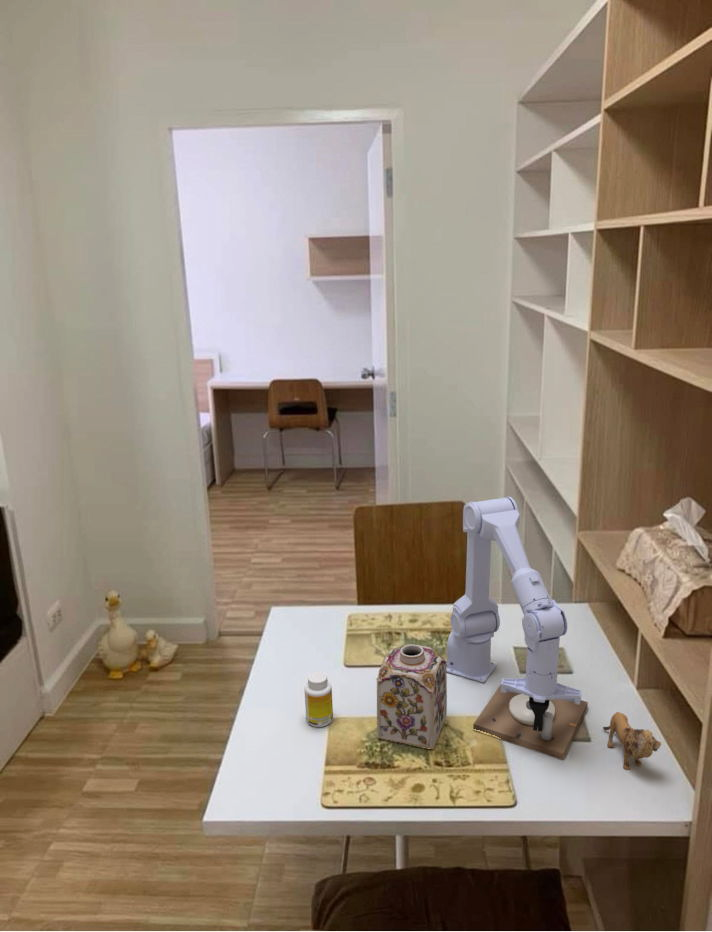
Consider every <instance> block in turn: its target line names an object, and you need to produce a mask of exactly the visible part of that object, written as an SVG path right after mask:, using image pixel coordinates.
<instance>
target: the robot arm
mask: <svg viewBox="0 0 712 932" xmlns="http://www.w3.org/2000/svg"><path fill="white" fill-rule="evenodd" d="M462 510H463V511H462V531H463V532H464V533H467V535H466V536H467V538H466V539H467V541H466V567H465V568H466V569H465V570H466V571H465V593H464V595H462V596H461V597H460V598H458V599H457V600H456V601H455V602H454V603H453V605H452V606H453V607H452V611H451V614H450V618H449V619H450V622H449V623H450V627H451V631H450V632H449V635H448V638H447V642H446V661H447V663H446V666H447V667H446V670H447V673H449V674H452V675H455V676H458V677H463V678H465V679H466V678H467V679H469V680H473V681H476V682H479V683H486V681H487V679H488V678H489V677H490V676H491V674H492V672H493V671H494V670H495V669H496V668H497V663H495V662H491V655H492V654H491V651H492V648H491V647H492V642H491V641H492V638H494V637H495V633H496V632H498V631H499V628H500V625H501V619H500V614H499V605H498V604H497V602H496V601H495V600H494V598H493V597H491V596H490V579H491V578H490V577H491V575H490V574H491V558H492V557H491V554H492V553H491V552H492V541H493V542H495V543H496V545H497V546H498V548H499V550H500V552H501V554H502V556H503V557H504V560H505V562H506V564H507V565H508V567H509V570H510V571H511V573H512V578H511V580H510V585H511V587H512V589H513V592H514V595H515V597H516V599H517V601H518V604H519V607H520V609H521V611H522V614H523V617H522V618H521V625H522V629H523V633H524V644H525V645H526V646H527V647H526V662H525V663H526V664H525V665H526V666H525V678H523V677H521V678H504V677H502V678H501V683H500V685H501V692H502V693H507V691H509V692H515V693H521V694H524V695H527V696H529V705H530V708H531V709H532V711H533V713H534V715H535V718H534V726H533V730H534V731H537V727H538V731H540V732H542V716H543V714H544V713H545V712H546V710H547V709H548V707H549V701H550V700H554V699H560V700H566V701H573V702H574V704H579V705H580V700H582V699H581V698H582V696H581V695H582V693H581V692H582V691H581V689H578V688H574V687H570V686H567V685H564V684H562V683H558V669H559V656H560V655H559V654H560V652H559V651H560V639H561V638H560V637H562V636H565V635H566V634H567V632H568V621H567V616H566V613H565V611H564V609H563V608H562V607H561V605H559V604H557V601H556V600H555V599H551V596H550V593H549V592H548V589H547V587H546V585H545V583H544V581H543V579H542V576H541V574H540V571H537V570H535V569H533V568H531V565H530V562H529V559H528V555H527V553H526V550H525V547H524V545H523V540H522V539H521V535H520V532H519V530H518V529H519V526H520V522H521V515H520V511H519V506H518V504H517V502H516V501H515V500H514V498H513V497H511V496H504V497H500V498H493V499H487V500H481V501H469V502H467V503H466V504H465V505H463V509H462Z"/></svg>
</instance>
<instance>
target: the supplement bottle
mask: <svg viewBox="0 0 712 932" xmlns="http://www.w3.org/2000/svg"><path fill="white" fill-rule="evenodd" d="M332 688H333V687H332V684H331V682H330V681H329V680H328V675H327V673H325V672H323V671H314V672H312V673H310V674H309V675H308V676H307V683H305V685H304V703H305V717H306V722H307V723H308V724H309V725H310V726H312V727H315V728H316V727H317V728H322V727H326V726H327V725H329V724H331V723H332V721H333V719H334V718H333V717H334V712H333V711H334V709H333V708H334V707H333V691H332V690H333V689H332Z"/></svg>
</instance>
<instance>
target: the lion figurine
mask: <svg viewBox="0 0 712 932" xmlns="http://www.w3.org/2000/svg"><path fill="white" fill-rule="evenodd" d="M602 729H603V730H604V731H609V734H608V741H607V745H606V746H607V748H609V749H612V748H614V746H615V745H614V743H613V742H614V741H613V740H614V735H615V736H616V737H617V738H618V741H619V743H620V744H621V745H622V747H623V750H622V751H623V765H622V768H623V770H625V771H626V770H627V771H629V770H631V763H630V757H633V763H634V765H635V766H636V767H641V766H642V763H643V762H642V761H640V760H641V759H644V758H647V759H648V758H650V757H651V756H652V755H653V752H658V750H659V749H660V748H661V746H662V742H660V741H658V740H657V739H656V738H655V736H653V732H652V731H651V730H649V729H644V728H643V729H642V728H640V729H635V728H632V726H631V725H630V724H629V721H628V716H627V715H626V714H624V713H621V712H619V711H616V712H614V714H613V715H612V716H611V718H610V723H609V725H608V726H603V727H602Z"/></svg>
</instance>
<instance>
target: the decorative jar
mask: <svg viewBox="0 0 712 932" xmlns="http://www.w3.org/2000/svg"><path fill="white" fill-rule="evenodd" d="M381 662H382V663H381V665H380V668H379V670H378V675H377V678H376V725H377V726H376V727H377V728H376V729H377V730H376V731H377V738H378V739H379V738H381V739H380V740H382V739H385V740H384V741H388V740H391V741H390V742H392V741H395V742H394V743H397V742H401V743H406V744H410V745H416V746H419V747H425V748H430V749H433V748H435V746H436V743H437V741H438V739H439V737H440V734H441V731H442V728H443V727H444V726H443V725H444V723H445V720H446V717H447V712H448V711H447V709H448V708H447V707H448V689H447V688H448V687H447V682H448V681H447V679H448V678H447V677H448V676H447V673H448V672H447V670H446V668H447V659H445V658H444V656H442V655H441V654H440V653H438V652H437V651H435V650H434V649H433V648H432V647H430V646H425V645H420V644H413V643H412V644H411V643H410V644H405V645H401V646H397V647H395V648H394V647H393V648H391V649H389V650H388V651H387V652H386V654H385V655H384V656H383V659H382V661H381ZM401 743H400V744H401ZM406 744H405V745H406ZM410 745H409V746H410ZM419 747H418V748H419ZM433 750H434V749H433Z"/></svg>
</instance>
